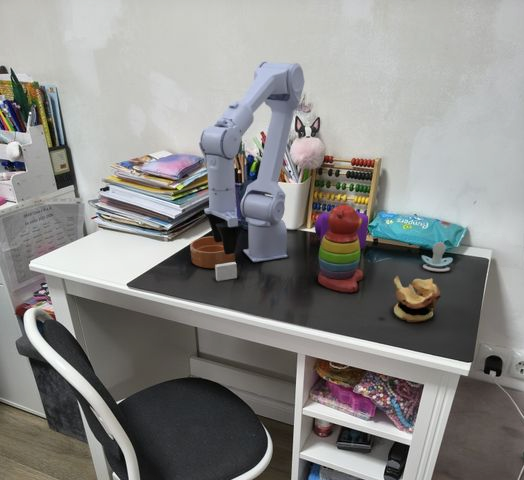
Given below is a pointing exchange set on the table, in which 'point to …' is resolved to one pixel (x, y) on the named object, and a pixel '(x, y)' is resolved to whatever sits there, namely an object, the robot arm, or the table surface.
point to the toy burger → (416, 298)
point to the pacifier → (437, 259)
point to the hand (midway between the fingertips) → (224, 247)
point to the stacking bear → (341, 251)
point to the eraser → (226, 271)
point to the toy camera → (323, 227)
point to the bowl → (209, 253)
